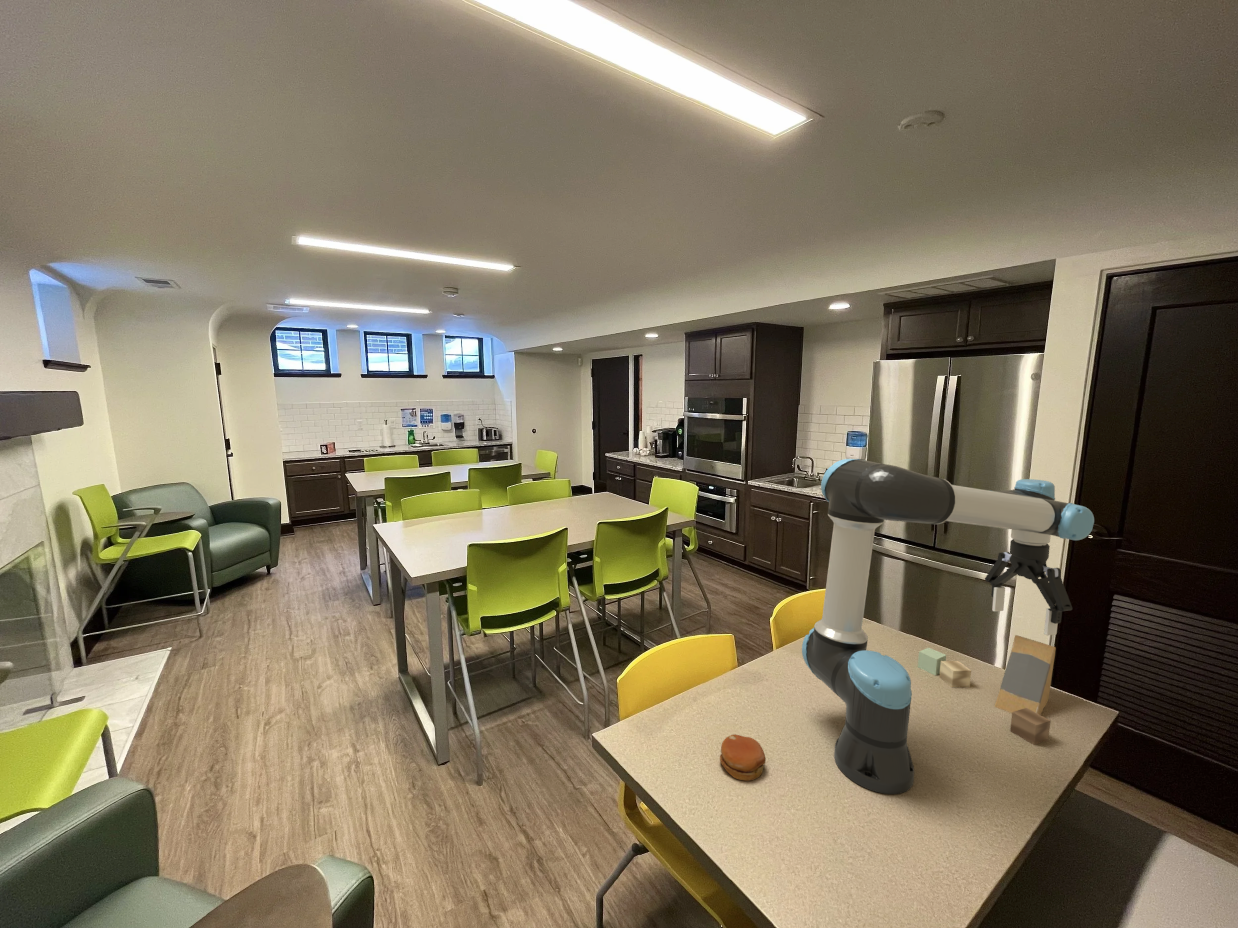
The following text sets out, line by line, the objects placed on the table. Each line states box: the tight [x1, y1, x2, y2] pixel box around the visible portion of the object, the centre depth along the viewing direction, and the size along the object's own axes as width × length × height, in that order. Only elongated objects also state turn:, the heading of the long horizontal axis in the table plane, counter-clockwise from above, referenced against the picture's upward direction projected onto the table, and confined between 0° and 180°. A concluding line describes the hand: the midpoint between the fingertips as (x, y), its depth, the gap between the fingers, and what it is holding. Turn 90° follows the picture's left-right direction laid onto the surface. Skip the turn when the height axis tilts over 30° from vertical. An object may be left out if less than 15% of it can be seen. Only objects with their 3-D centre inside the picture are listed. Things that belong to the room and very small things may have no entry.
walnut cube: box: [1009, 708, 1051, 746], centre depth 114 cm, size 5×5×5 cm
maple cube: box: [938, 660, 972, 689], centre depth 135 cm, size 5×5×5 cm
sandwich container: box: [993, 634, 1056, 715], centre depth 125 cm, size 9×15×15 cm, turn 129°
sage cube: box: [917, 647, 947, 676], centre depth 142 cm, size 5×5×5 cm
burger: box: [719, 734, 766, 782], centre depth 105 cm, size 10×9×5 cm
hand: (1022, 621), depth 124 cm, fingers open, 13 cm apart
